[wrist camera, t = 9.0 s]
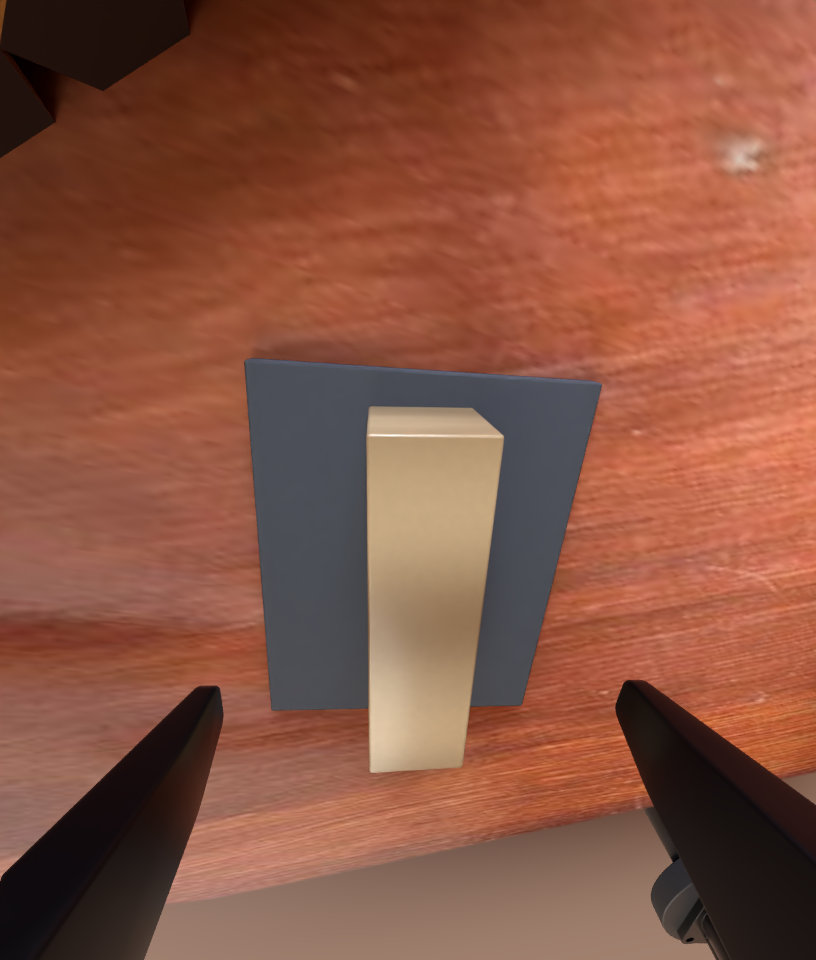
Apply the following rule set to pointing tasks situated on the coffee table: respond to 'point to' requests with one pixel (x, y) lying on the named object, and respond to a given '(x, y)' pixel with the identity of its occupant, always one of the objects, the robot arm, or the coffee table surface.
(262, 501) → the grey mat
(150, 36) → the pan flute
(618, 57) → the coffee table surface
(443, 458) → the maple bar
